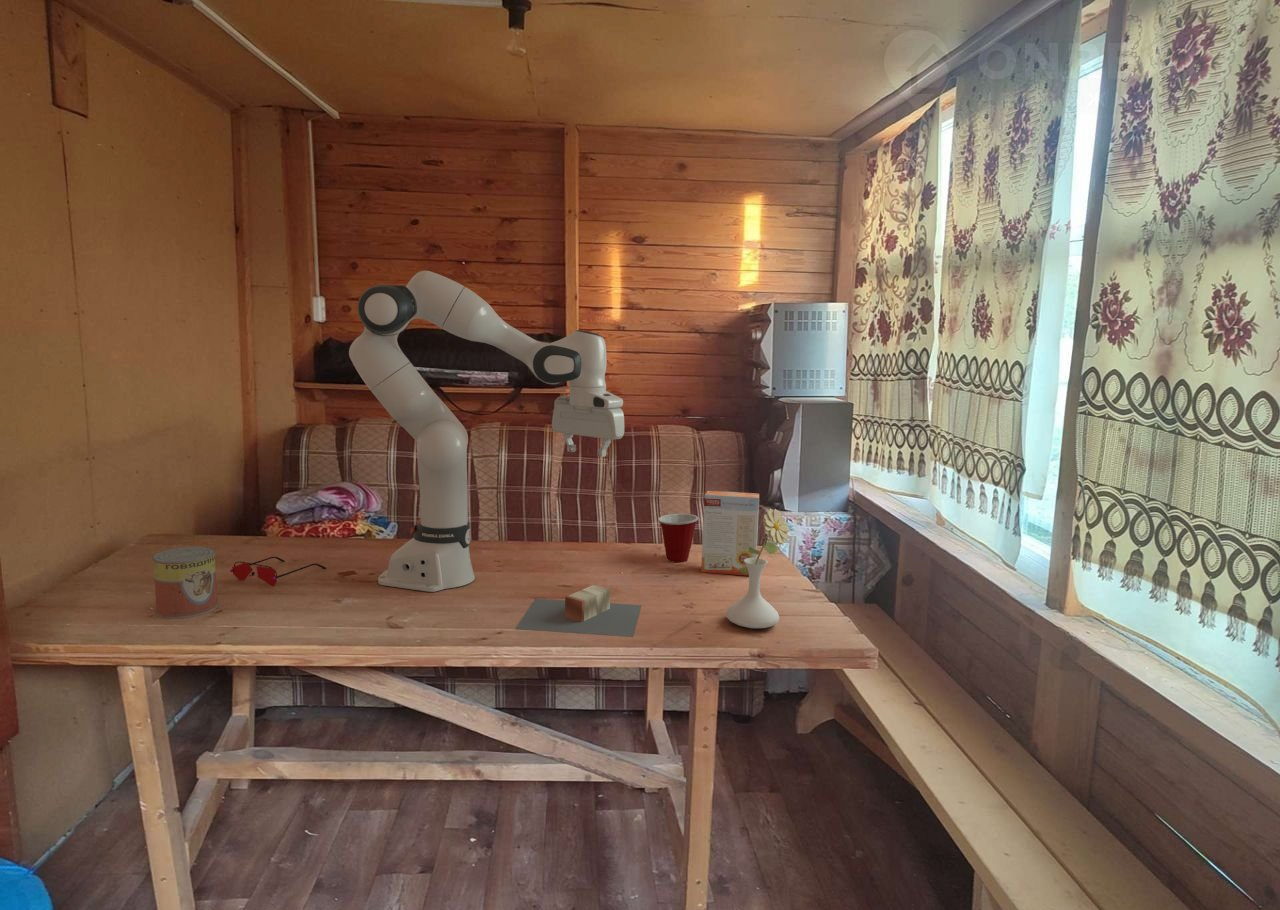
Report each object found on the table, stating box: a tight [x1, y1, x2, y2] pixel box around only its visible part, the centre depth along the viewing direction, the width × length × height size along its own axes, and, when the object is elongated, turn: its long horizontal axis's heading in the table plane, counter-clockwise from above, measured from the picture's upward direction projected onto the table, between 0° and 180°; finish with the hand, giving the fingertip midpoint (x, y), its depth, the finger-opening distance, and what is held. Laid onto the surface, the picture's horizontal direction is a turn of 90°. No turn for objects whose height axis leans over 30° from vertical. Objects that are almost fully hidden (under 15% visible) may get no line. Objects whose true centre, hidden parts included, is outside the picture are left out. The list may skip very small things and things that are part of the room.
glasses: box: [229, 556, 327, 587], centre depth 184 cm, size 14×16×5 cm
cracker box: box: [701, 490, 760, 577], centre depth 196 cm, size 14×6×21 cm, turn 80°
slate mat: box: [515, 597, 642, 638], centre depth 161 cm, size 24×18×1 cm
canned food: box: [151, 545, 219, 619], centre depth 159 cm, size 11×11×12 cm
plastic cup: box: [657, 513, 699, 563], centre depth 205 cm, size 11×11×12 cm
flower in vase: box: [725, 508, 791, 629], centre depth 160 cm, size 13×11×25 cm
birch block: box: [564, 584, 611, 622], centre depth 162 cm, size 4×4×10 cm
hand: (586, 454), depth 186 cm, fingers open, 8 cm apart
